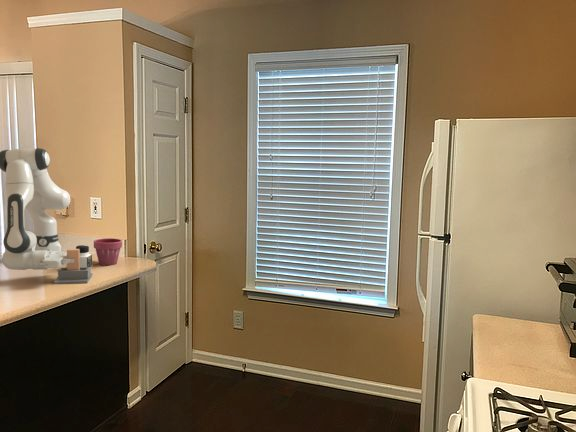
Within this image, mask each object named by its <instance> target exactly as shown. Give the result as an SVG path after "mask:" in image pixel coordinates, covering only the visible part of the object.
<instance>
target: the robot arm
mask: <svg viewBox="0 0 576 432" xmlns="http://www.w3.org/2000/svg"><path fill="white" fill-rule="evenodd" d="M50 163H51V158H50V155H49V152H48V151H47V150H46V149H44V148H41V147H36V148H34V147H33V148H29V147H23V148H15V149H4V150H1V151H0V170H1V171H2V172H5V191H6V202H7V206H6V210H7V216H6V219H7V224H6V225H7V226H6V227H7V228H6V232H5V235H4V237H3V246H4V248H5V249H6V250H5V251H4V252H3V253H2V258H1V261H2V264H3V266H4V267H5V268H6V269H9V270H12V271H13V270H15V271H26V270H34V271H35V270H37V271H38V270H40V271H41V270H48V269H61V268H62V266H63V265H67V263H74V262H75V259H74V258H71V259H67V250H66V251H65V250H62V244H61V243H60V242H59V240H60V239H59V233H58V222H57V219H56V218H55V217H53V216H52V215H49V214H48V212H47V210H54V211H55V210H63V209H67V208H68V207H69V205H70V204H71V195H70V194H69V192H68V191H66V190H65V189H63V188H61V187H59V186H58V185H57V184H56V183H55V182H54V181H53V180H52V179H51V177H50V173H49V172H48V167H49V166H50ZM25 210H26V211H27V212H28V214H29V215H30V217H31V221H32V224H33V232H32V231H31V230H26V229H25Z"/></svg>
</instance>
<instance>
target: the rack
mask: <svg viewBox="0 0 576 432" xmlns="http://www.w3.org/2000/svg"><path fill="white" fill-rule="evenodd" d="M91 268H92V267H80V270H67V266H65V267H62V266H61V267H60V270H57V278H56V279H55V280H54V281H53V284H54V285H61V284H62V285H64V284H65V285H66V284H67V285H68V284H69V285H70V284H88V283H89V281H90V280H91V278H92V277H93V273H92V271H91Z"/></svg>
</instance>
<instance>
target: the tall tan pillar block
mask: <svg viewBox="0 0 576 432" xmlns="http://www.w3.org/2000/svg"><path fill="white" fill-rule="evenodd" d="M66 251H67V259H71V258H74V259H75V262H74V263H67V264H66V267H67V270H80V249H76V248H68V249H66Z"/></svg>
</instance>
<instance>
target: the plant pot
mask: <svg viewBox="0 0 576 432" xmlns="http://www.w3.org/2000/svg"><path fill="white" fill-rule="evenodd" d="M122 247H123V239H120V238H109V237H108V238H97V239H95V240H93V249H94V250H95V253H96V256H97V261H98V264H99V265H101V266H115V265H117V263H118V261H119V260H118V259H119V255H120V251H121V248H122Z"/></svg>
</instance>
